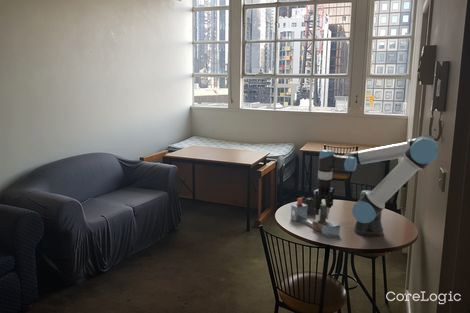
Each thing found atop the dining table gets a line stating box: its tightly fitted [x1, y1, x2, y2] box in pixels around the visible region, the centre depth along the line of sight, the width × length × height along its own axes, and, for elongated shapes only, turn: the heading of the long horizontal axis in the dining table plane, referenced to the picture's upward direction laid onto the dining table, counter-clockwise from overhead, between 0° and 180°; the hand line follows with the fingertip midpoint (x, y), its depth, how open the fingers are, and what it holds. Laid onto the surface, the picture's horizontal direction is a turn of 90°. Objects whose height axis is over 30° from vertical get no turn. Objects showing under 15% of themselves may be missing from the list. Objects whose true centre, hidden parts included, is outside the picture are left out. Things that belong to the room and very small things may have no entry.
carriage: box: [312, 203, 329, 234], centre depth 224 cm, size 8×6×15 cm
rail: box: [290, 203, 341, 239], centre depth 229 cm, size 32×8×9 cm, turn 30°
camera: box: [300, 196, 323, 217], centre depth 255 cm, size 14×11×10 cm
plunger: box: [296, 197, 302, 206], centre depth 240 cm, size 3×3×4 cm
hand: (321, 219), depth 224 cm, fingers open, 5 cm apart
